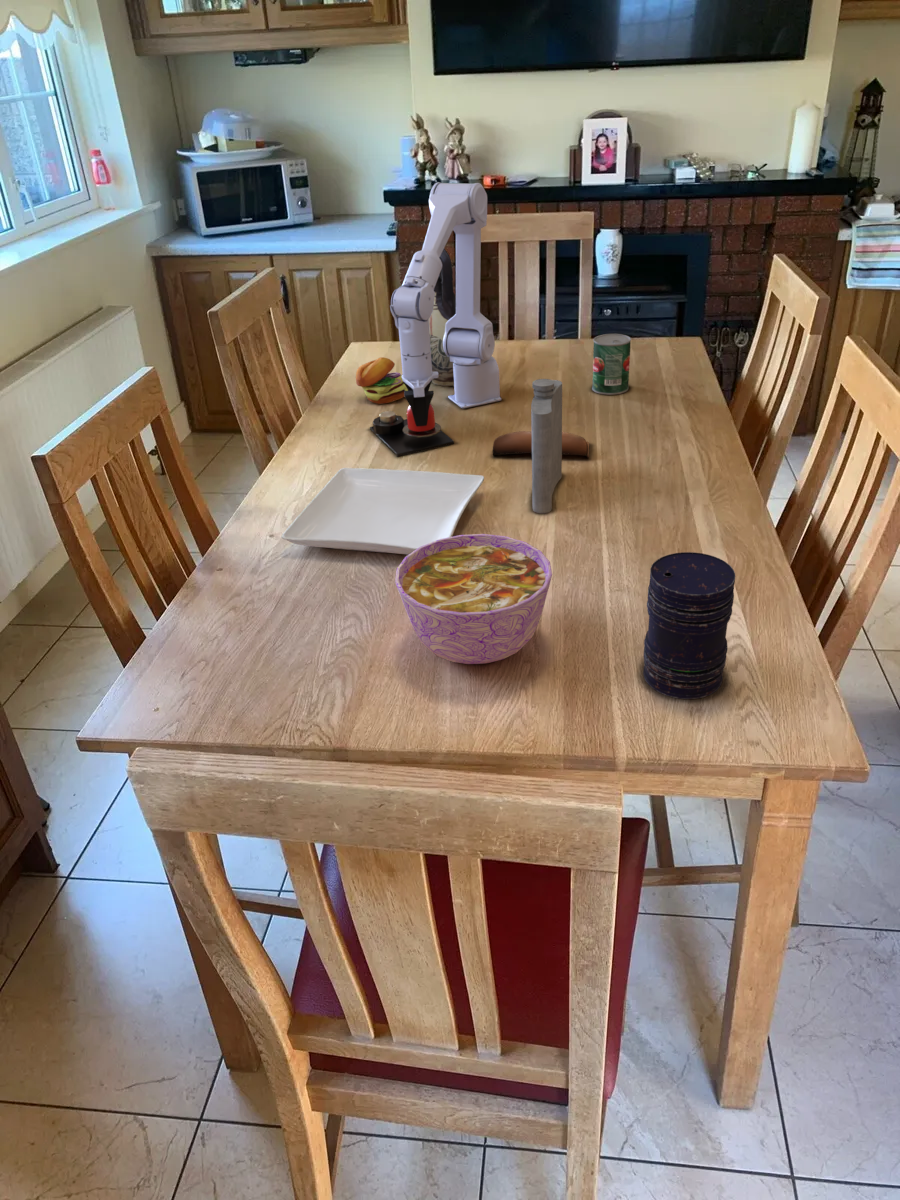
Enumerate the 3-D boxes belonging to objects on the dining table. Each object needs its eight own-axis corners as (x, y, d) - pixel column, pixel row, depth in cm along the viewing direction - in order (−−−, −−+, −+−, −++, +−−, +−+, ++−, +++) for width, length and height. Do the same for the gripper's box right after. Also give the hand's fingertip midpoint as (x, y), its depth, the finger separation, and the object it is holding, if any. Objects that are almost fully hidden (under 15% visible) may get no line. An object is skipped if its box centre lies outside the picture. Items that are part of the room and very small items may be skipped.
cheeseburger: (410, 403, 200) (395, 361, 195) (364, 417, 202) (348, 375, 197) (412, 387, 209) (398, 345, 204) (368, 400, 211) (353, 359, 205)
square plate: (486, 492, 162) (486, 472, 160) (444, 571, 140) (443, 549, 138) (343, 482, 169) (340, 463, 166) (281, 556, 147) (277, 534, 144)
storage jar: (711, 649, 119) (723, 549, 111) (733, 696, 111) (748, 592, 103) (634, 654, 119) (640, 554, 111) (651, 702, 111) (659, 598, 103)
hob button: (392, 417, 188) (392, 409, 187) (398, 423, 186) (397, 414, 185) (378, 421, 187) (377, 412, 186) (383, 426, 185) (382, 417, 184)
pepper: (433, 420, 185) (431, 390, 181) (436, 430, 180) (434, 399, 177) (406, 422, 184) (404, 393, 181) (409, 432, 180) (406, 402, 176)
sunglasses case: (590, 440, 177) (590, 418, 171) (588, 470, 174) (588, 449, 168) (497, 438, 180) (494, 417, 175) (494, 468, 177) (490, 447, 171)
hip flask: (550, 514, 153) (550, 399, 143) (526, 512, 154) (524, 398, 144) (562, 473, 166) (563, 365, 156) (540, 472, 167) (539, 365, 157)
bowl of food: (371, 649, 123) (362, 576, 117) (475, 589, 135) (471, 519, 129) (479, 713, 111) (474, 634, 105) (583, 640, 122) (584, 566, 116)
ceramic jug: (408, 375, 217) (396, 242, 201) (470, 365, 220) (463, 233, 204) (428, 398, 203) (417, 257, 187) (494, 387, 207) (489, 247, 191)
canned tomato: (585, 387, 203) (586, 337, 198) (615, 380, 206) (617, 331, 200) (605, 397, 197) (606, 347, 191) (635, 390, 200) (638, 340, 194)
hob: (423, 418, 193) (422, 406, 192) (454, 443, 181) (453, 431, 179) (369, 429, 190) (368, 417, 188) (397, 456, 177) (395, 444, 176)
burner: (432, 419, 187) (431, 418, 187) (446, 432, 181) (446, 430, 181) (397, 427, 184) (397, 425, 184) (411, 440, 178) (411, 438, 178)
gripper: (438, 362, 168) (443, 432, 175) (435, 339, 180) (439, 405, 188) (400, 365, 168) (406, 434, 175) (399, 341, 180) (405, 407, 188)
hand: (421, 419), depth 182 cm, fingers closed on pepper, 5 cm apart
